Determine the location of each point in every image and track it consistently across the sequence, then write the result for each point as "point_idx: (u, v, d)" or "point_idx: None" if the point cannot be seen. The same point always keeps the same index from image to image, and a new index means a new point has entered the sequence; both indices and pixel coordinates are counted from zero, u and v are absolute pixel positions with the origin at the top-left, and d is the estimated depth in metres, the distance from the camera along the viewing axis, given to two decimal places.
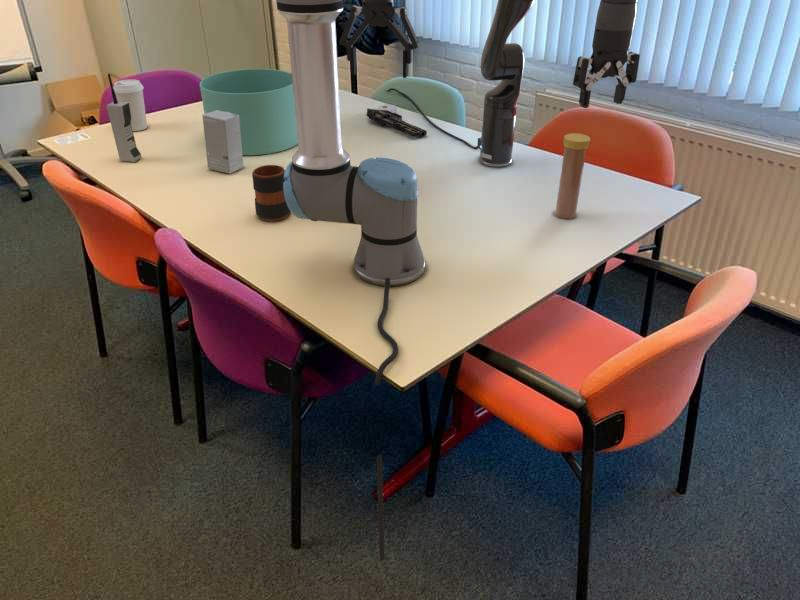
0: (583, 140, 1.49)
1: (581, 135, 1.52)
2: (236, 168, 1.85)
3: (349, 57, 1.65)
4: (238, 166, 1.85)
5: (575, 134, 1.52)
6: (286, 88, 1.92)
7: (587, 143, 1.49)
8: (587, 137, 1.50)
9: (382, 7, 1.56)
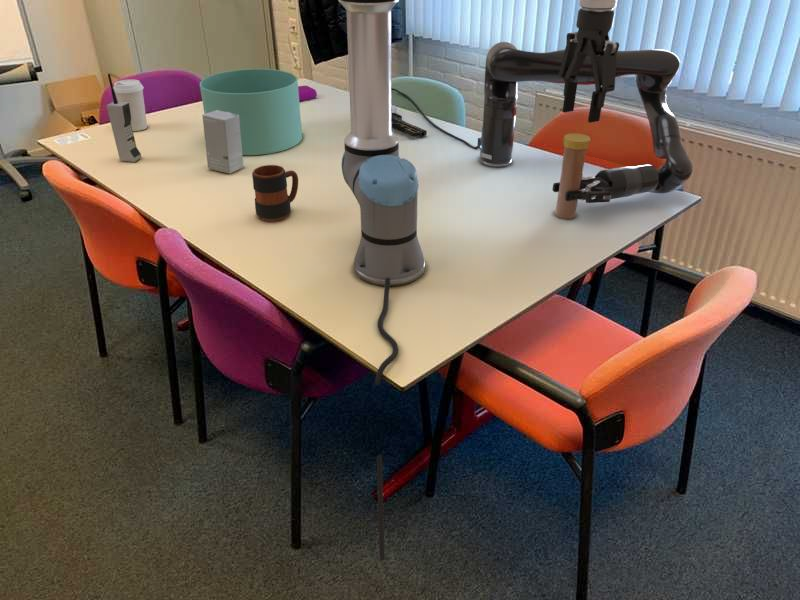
0: (583, 140, 1.49)
1: (581, 135, 1.52)
2: (236, 168, 1.85)
3: None
4: (238, 166, 1.85)
5: (575, 134, 1.52)
6: (286, 88, 1.92)
7: (587, 143, 1.49)
8: (587, 137, 1.50)
9: None
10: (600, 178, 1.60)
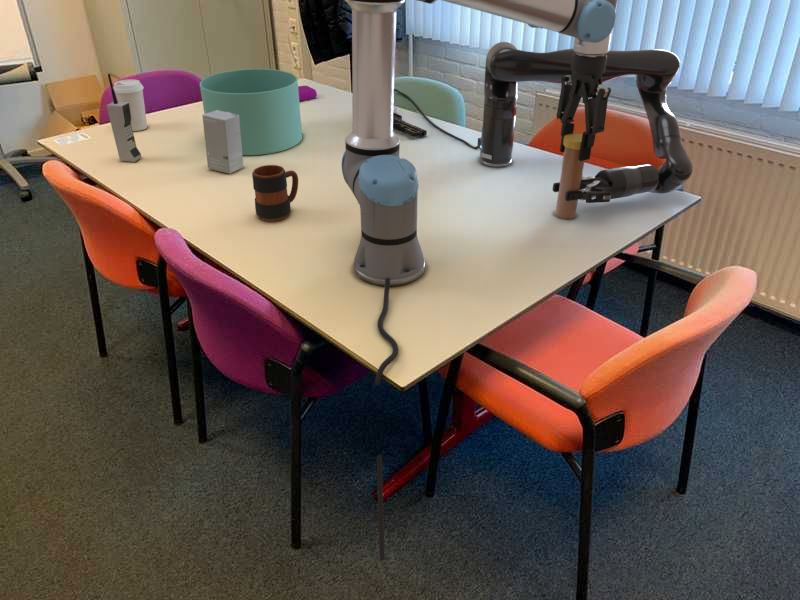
0: None
1: (581, 135, 1.52)
2: (236, 168, 1.85)
3: None
4: (238, 166, 1.85)
5: (575, 134, 1.52)
6: (286, 88, 1.92)
7: None
8: None
9: None
10: (600, 178, 1.60)
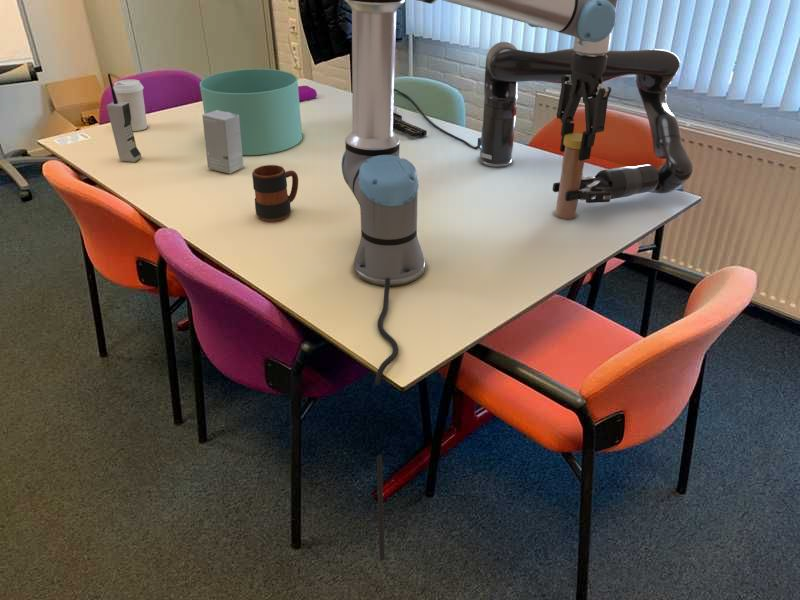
0: None
1: (569, 135, 1.51)
2: (236, 168, 1.85)
3: None
4: (238, 166, 1.85)
5: (568, 136, 1.50)
6: (286, 88, 1.92)
7: None
8: (574, 133, 1.52)
9: None
10: (600, 178, 1.60)
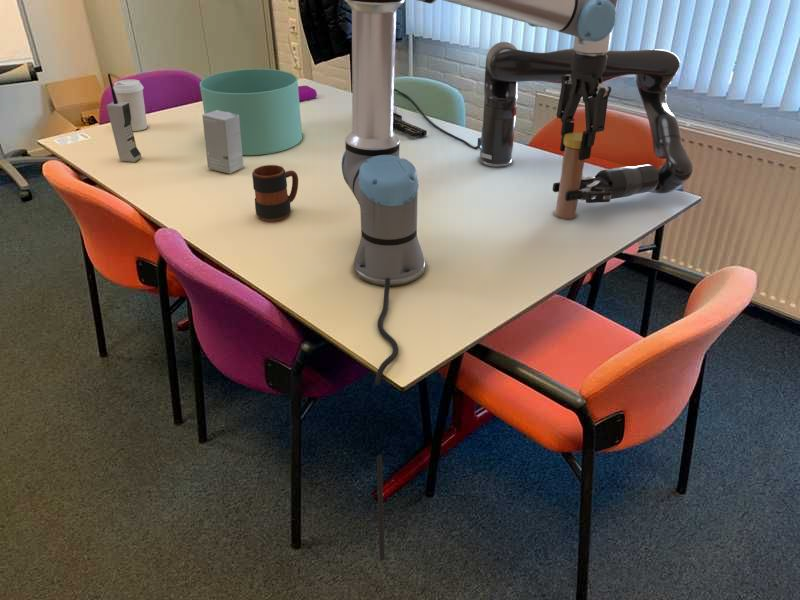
0: (570, 133, 1.52)
1: (573, 138, 1.49)
2: (236, 168, 1.85)
3: None
4: (238, 166, 1.85)
5: (579, 139, 1.48)
6: (286, 88, 1.92)
7: None
8: (567, 136, 1.50)
9: None
10: (600, 178, 1.60)
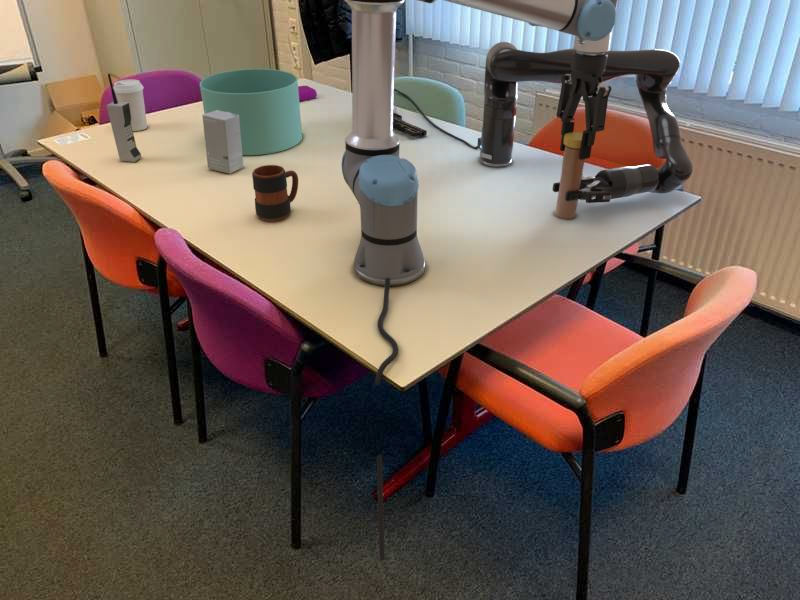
0: (569, 137, 1.49)
1: None
2: (236, 168, 1.85)
3: None
4: (238, 166, 1.85)
5: None
6: (286, 88, 1.92)
7: (570, 142, 1.49)
8: (580, 139, 1.48)
9: None
10: (600, 178, 1.60)
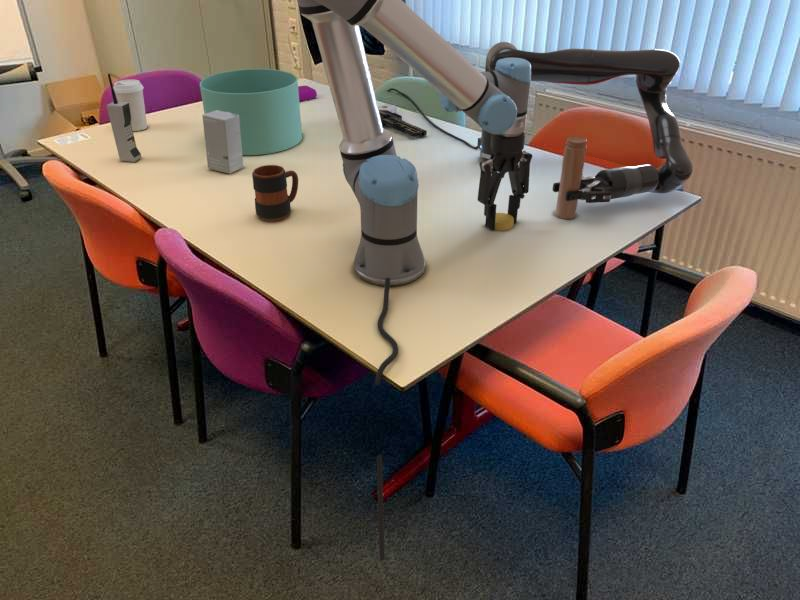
0: None
1: (497, 221, 1.54)
2: (236, 168, 1.85)
3: None
4: (238, 166, 1.85)
5: (503, 222, 1.54)
6: (286, 88, 1.92)
7: None
8: None
9: None
10: (600, 178, 1.60)
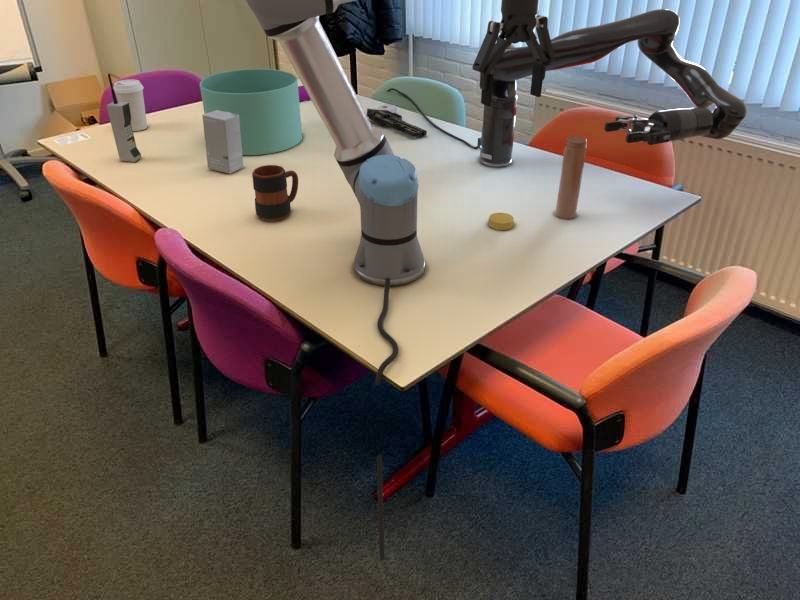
0: (495, 214, 1.57)
1: (497, 220, 1.54)
2: (236, 168, 1.85)
3: None
4: (238, 166, 1.85)
5: (503, 221, 1.54)
6: (286, 88, 1.92)
7: None
8: (491, 218, 1.55)
9: None
10: (654, 120, 1.57)
